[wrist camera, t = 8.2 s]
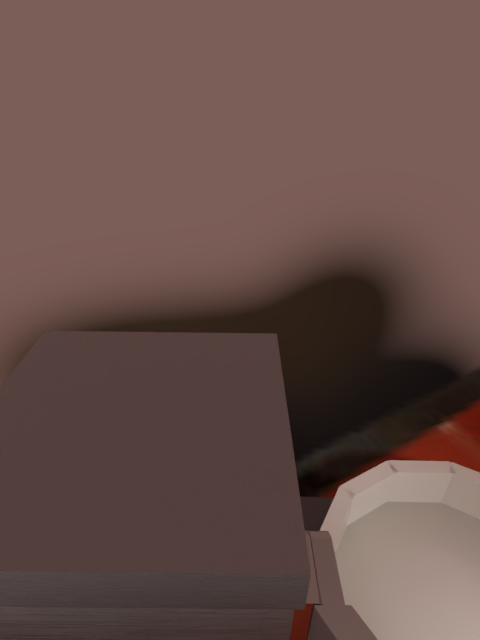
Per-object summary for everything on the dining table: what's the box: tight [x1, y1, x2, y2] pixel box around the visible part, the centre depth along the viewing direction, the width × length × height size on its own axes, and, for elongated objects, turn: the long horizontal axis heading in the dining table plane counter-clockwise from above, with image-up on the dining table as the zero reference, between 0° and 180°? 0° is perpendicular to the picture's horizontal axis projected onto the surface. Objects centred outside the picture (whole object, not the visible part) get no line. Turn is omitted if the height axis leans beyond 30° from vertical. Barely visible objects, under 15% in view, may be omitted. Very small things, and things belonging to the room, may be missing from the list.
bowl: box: [320, 460, 480, 640], centre depth 22 cm, size 16×16×4 cm
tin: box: [0, 331, 311, 640], centre depth 10 cm, size 5×5×12 cm
